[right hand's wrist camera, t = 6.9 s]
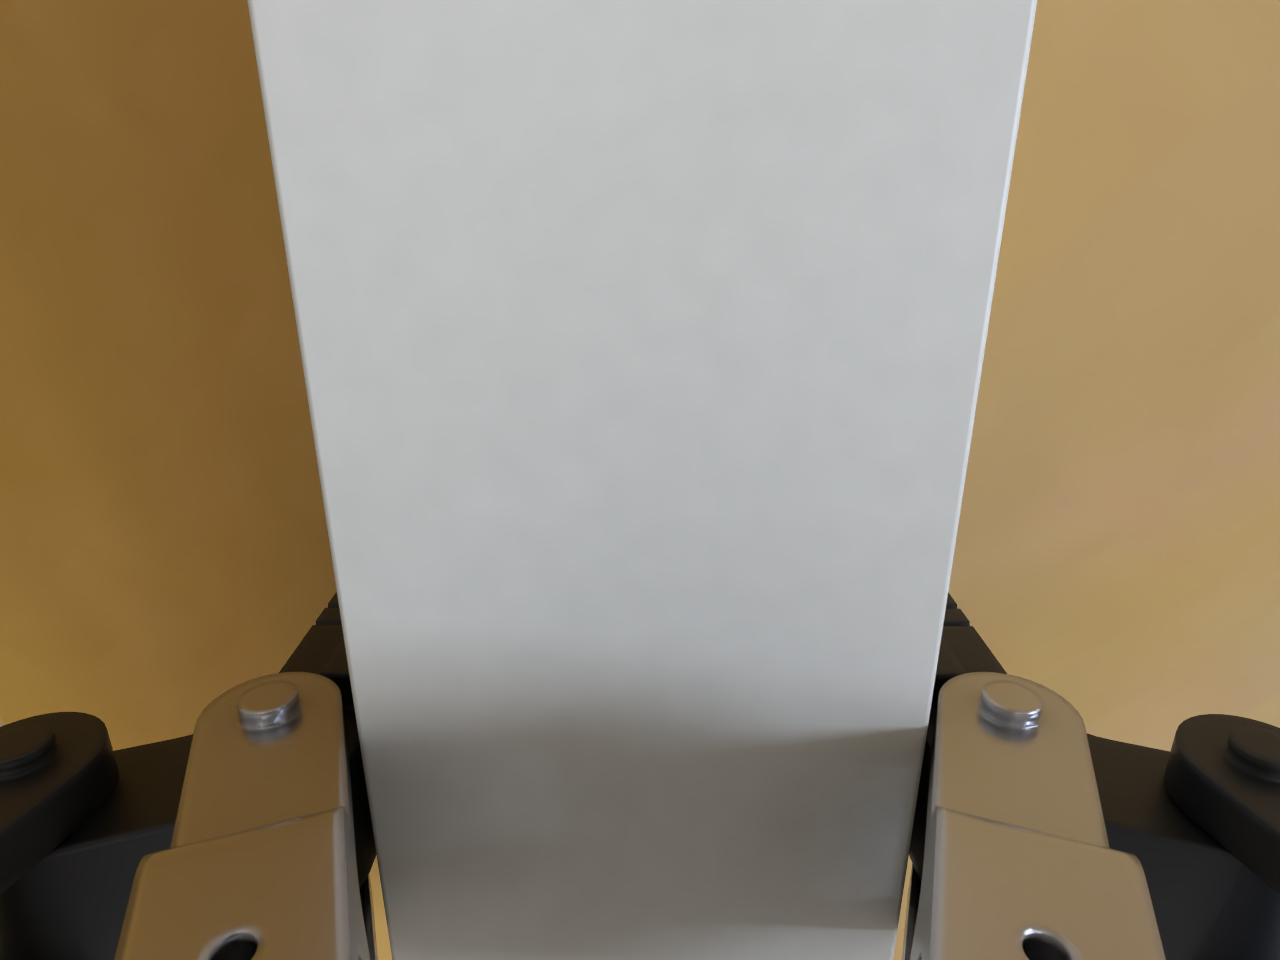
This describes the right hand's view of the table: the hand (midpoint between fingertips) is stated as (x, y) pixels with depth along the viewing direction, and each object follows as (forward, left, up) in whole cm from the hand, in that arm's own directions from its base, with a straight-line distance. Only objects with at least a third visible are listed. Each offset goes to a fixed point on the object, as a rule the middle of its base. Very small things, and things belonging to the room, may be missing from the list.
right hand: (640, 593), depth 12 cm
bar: (+8, -24, -2) cm, 25 cm away
